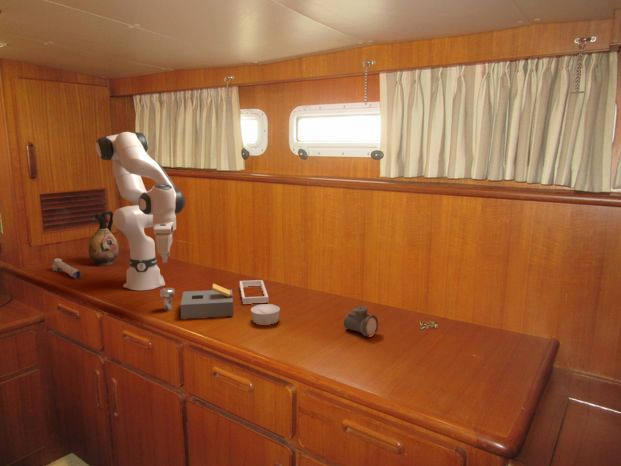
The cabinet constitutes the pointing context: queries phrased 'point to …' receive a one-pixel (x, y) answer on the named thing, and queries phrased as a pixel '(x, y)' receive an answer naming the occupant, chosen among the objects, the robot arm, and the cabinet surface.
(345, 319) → the pipe fitting
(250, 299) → the rectangular frame
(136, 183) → the robot arm
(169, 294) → the steel peg
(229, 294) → the yellow rectangular slab
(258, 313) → the ramekin
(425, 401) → the cabinet surface
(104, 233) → the ceramic jug
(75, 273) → the beige knobbed rod
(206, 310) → the hitch block
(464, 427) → the cabinet surface
